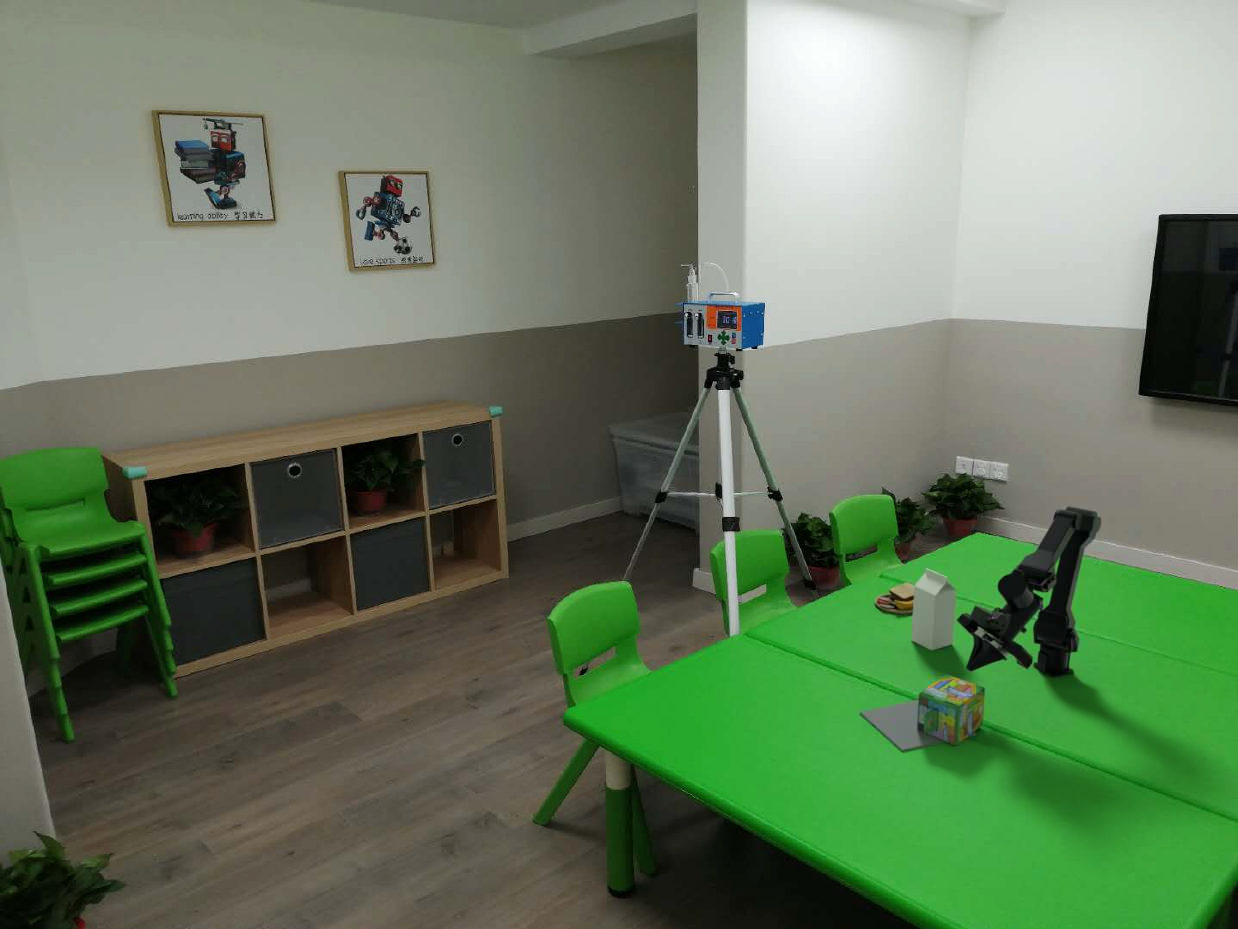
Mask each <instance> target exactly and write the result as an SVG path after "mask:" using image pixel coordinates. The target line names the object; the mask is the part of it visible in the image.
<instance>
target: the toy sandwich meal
mask: <svg viewBox="0 0 1238 929" xmlns="http://www.w3.org/2000/svg"><path fill="white" fill-rule="evenodd" d="M915 585H916V584H912V583H910V582H903V583H902V584H899V585H897V586H894V587H891V588H889V589H888V593H884V594H880V595H878V596H877V597H876V598H875V599H874V603H875V606H877V607H878V609H880V610H882V611H884V612H887V613H892V614H900V615H901V614H902V615H905V614H913V604H914V588H915Z"/></svg>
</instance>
